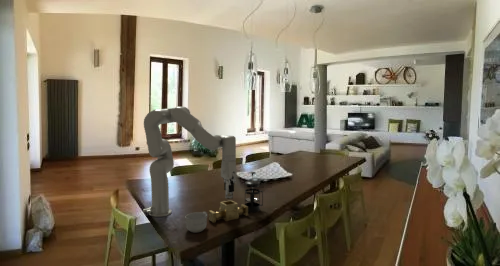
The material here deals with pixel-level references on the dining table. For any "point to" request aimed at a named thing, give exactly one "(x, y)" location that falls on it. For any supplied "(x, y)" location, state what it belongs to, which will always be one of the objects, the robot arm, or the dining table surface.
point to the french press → (252, 205)
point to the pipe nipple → (228, 194)
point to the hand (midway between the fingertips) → (229, 190)
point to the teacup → (196, 221)
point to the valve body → (228, 211)
